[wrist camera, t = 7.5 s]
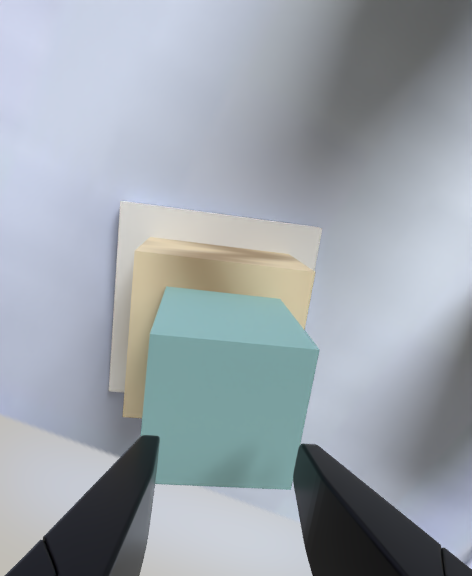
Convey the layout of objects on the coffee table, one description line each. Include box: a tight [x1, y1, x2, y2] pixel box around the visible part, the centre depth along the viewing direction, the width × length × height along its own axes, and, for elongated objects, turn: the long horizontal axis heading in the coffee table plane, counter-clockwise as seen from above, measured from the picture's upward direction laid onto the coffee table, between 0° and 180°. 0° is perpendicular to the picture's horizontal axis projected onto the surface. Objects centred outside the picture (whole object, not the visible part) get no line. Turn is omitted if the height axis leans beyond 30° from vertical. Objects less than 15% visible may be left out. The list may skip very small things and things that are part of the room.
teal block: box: [141, 286, 319, 490], centre depth 13 cm, size 4×4×5 cm
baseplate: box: [109, 201, 322, 392], centre depth 20 cm, size 10×10×1 cm
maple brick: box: [123, 237, 315, 418], centre depth 17 cm, size 7×7×4 cm
